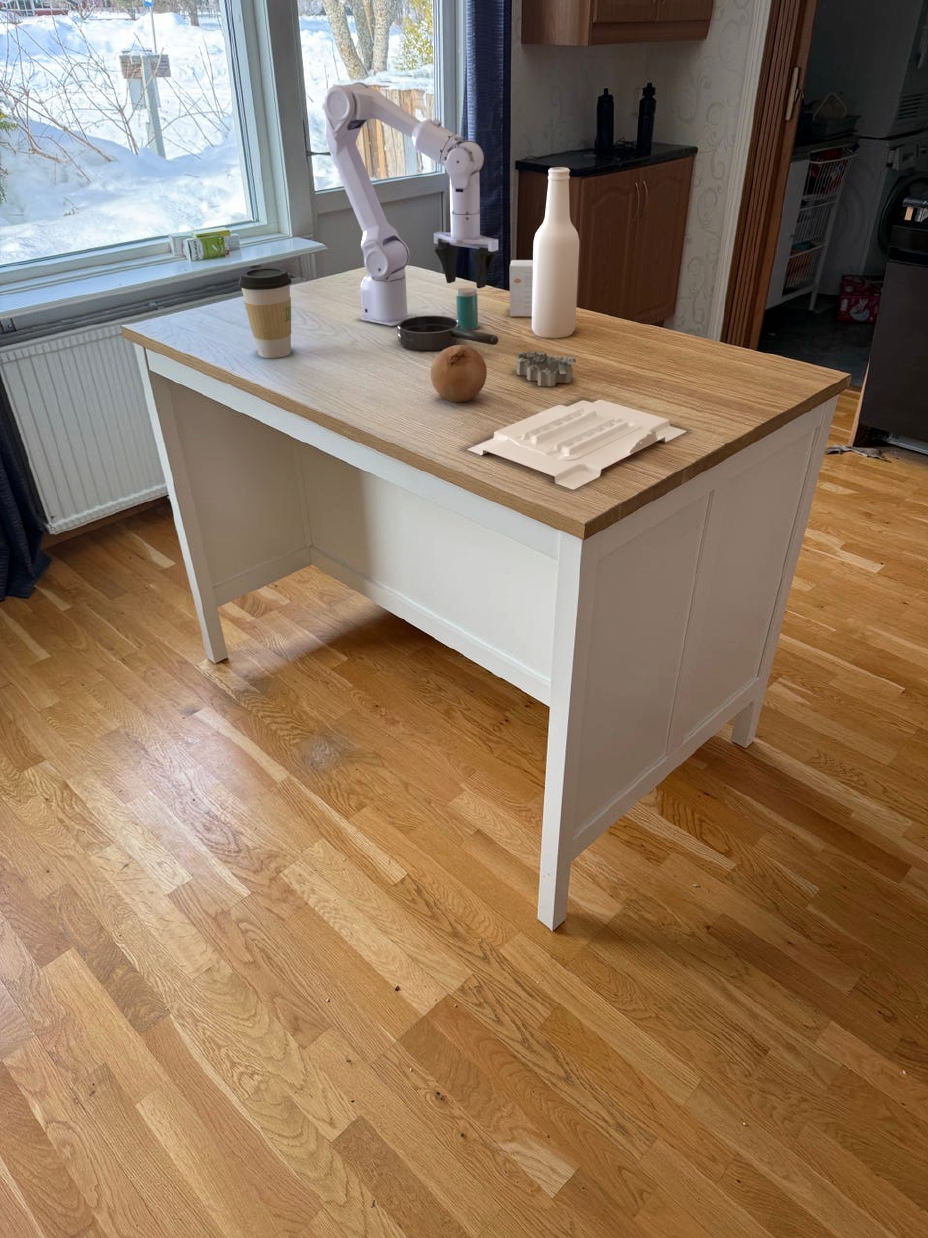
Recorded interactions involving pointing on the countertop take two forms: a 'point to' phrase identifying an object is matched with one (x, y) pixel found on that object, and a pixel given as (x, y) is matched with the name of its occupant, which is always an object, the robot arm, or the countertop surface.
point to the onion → (458, 373)
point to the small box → (521, 288)
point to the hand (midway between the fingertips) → (466, 284)
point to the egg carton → (545, 368)
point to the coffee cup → (268, 309)
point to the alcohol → (555, 263)
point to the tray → (578, 439)
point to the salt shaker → (467, 308)
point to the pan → (427, 333)
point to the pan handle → (474, 336)
